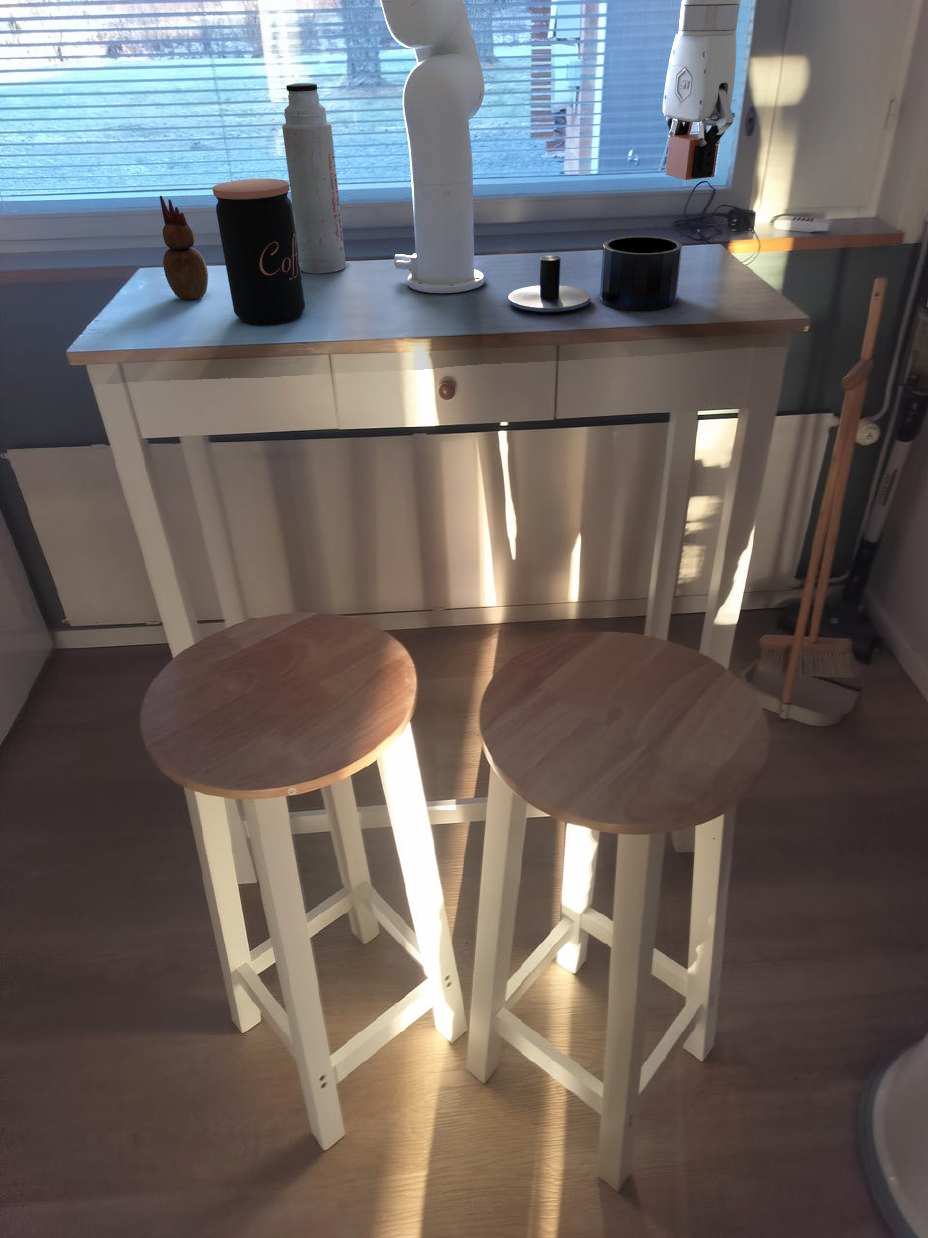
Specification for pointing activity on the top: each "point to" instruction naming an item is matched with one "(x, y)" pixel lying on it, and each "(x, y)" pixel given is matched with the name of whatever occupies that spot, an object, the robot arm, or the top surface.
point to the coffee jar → (260, 250)
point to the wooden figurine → (182, 256)
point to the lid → (549, 291)
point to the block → (683, 156)
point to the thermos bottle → (313, 181)
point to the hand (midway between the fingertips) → (689, 172)
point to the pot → (640, 273)
